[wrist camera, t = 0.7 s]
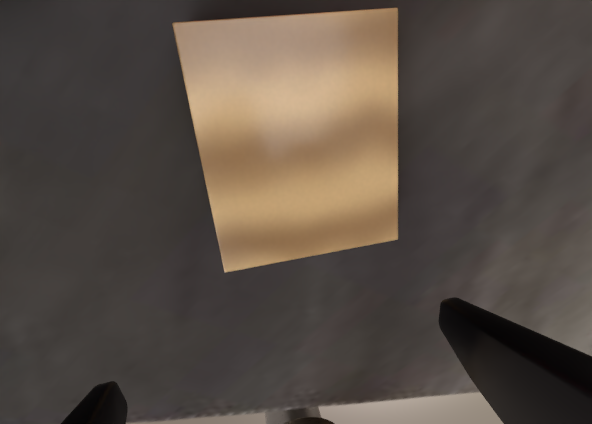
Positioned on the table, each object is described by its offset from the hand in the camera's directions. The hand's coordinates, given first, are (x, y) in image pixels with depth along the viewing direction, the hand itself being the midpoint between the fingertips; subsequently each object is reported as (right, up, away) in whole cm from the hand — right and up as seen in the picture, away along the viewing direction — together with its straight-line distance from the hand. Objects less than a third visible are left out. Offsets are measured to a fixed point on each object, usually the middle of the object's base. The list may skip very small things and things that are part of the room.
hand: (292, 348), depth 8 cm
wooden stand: (0, +8, +12) cm, 15 cm away
